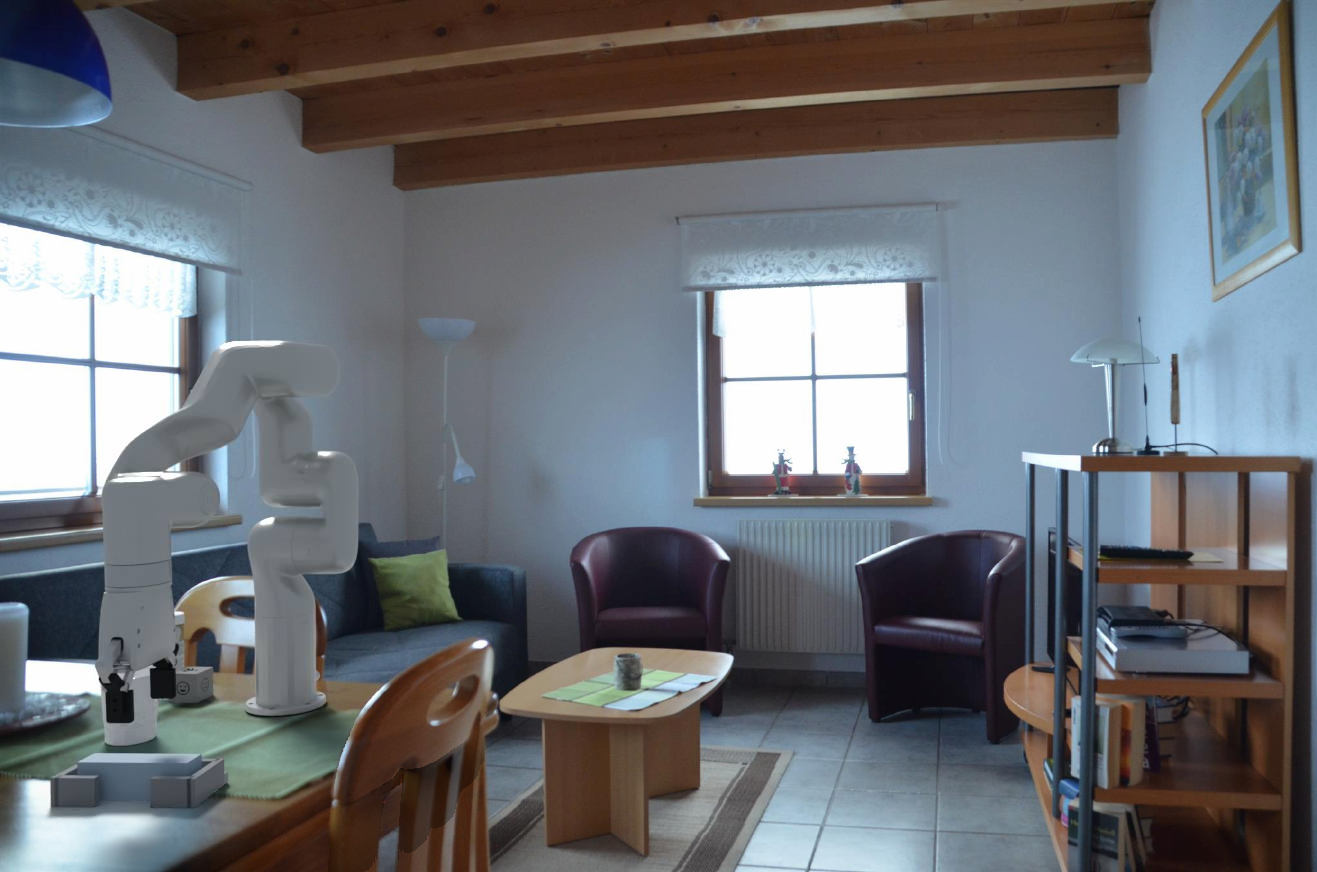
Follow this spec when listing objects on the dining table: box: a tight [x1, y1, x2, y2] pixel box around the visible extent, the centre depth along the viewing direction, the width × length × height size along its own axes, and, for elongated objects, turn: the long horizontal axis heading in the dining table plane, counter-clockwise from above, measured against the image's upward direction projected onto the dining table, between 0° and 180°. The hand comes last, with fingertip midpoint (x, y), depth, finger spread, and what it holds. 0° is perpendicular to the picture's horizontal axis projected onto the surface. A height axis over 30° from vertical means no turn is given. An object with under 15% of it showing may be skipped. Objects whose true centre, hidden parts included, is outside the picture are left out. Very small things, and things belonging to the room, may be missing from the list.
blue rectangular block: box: [76, 752, 203, 802], centre depth 125 cm, size 14×4×5 cm, turn 87°
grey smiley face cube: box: [168, 666, 214, 704], centre depth 172 cm, size 5×5×5 cm
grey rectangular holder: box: [49, 758, 229, 809], centre depth 126 cm, size 8×18×4 cm, turn 88°
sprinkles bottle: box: [172, 611, 186, 670], centre depth 179 cm, size 5×5×14 cm
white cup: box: [99, 666, 160, 747], centre depth 149 cm, size 8×8×10 cm
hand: (142, 709), depth 126 cm, fingers open, 9 cm apart
